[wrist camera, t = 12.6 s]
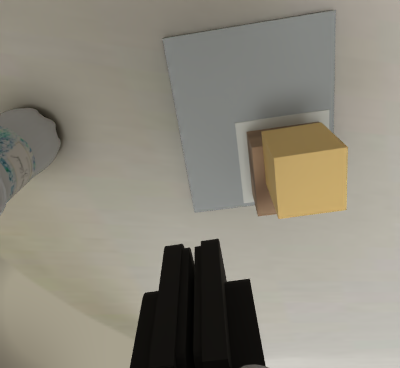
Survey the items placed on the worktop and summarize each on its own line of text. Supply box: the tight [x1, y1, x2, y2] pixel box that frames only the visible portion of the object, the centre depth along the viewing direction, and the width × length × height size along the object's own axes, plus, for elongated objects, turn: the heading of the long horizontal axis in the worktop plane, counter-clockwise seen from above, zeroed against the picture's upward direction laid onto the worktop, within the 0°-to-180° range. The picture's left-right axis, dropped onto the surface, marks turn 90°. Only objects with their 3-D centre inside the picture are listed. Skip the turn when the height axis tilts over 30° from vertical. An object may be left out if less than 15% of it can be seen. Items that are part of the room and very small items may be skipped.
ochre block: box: [261, 122, 348, 219], centre depth 28 cm, size 5×5×6 cm
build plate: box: [163, 10, 336, 212], centre depth 35 cm, size 18×15×1 cm
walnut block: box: [246, 122, 320, 216], centre depth 33 cm, size 7×7×4 cm
